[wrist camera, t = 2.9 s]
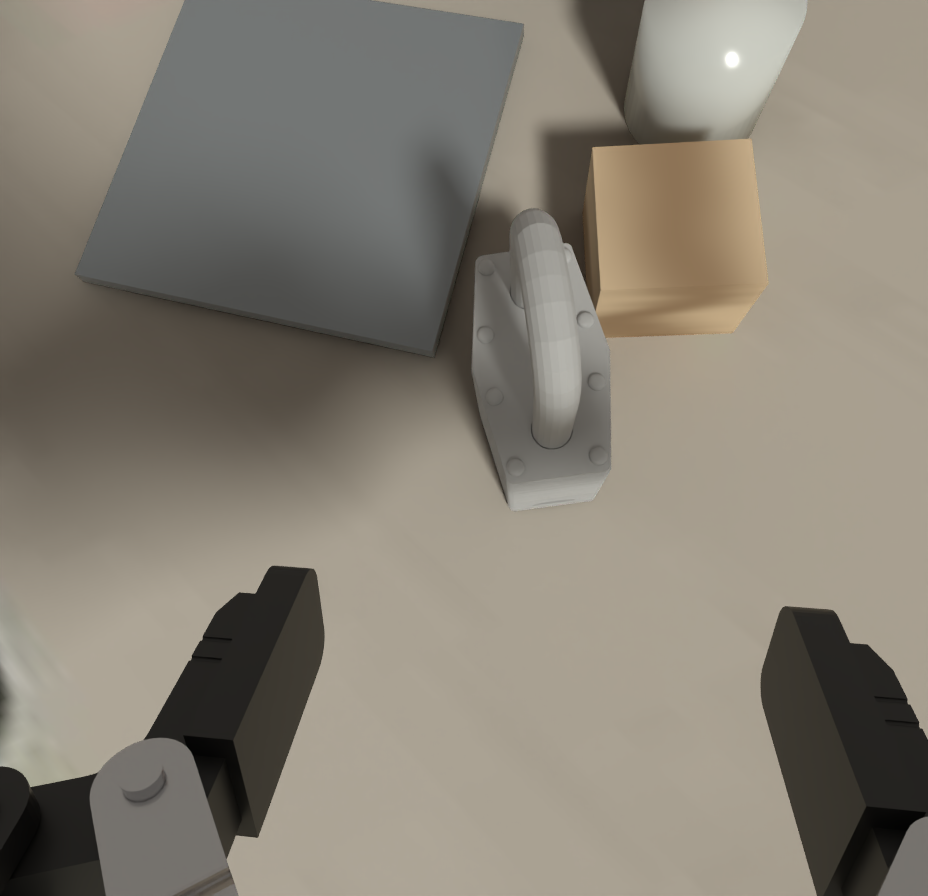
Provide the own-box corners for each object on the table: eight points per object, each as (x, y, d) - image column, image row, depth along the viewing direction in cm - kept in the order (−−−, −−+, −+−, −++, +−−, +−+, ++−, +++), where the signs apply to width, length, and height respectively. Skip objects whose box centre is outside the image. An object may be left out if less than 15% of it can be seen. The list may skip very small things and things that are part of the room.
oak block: (588, 340, 26) (600, 290, 22) (581, 214, 27) (592, 147, 24) (731, 334, 26) (768, 283, 22) (718, 208, 27) (751, 138, 23)
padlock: (467, 323, 27) (437, 149, 17) (577, 307, 26) (610, 122, 17) (493, 515, 25) (476, 444, 15) (611, 499, 25) (670, 417, 15)
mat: (83, 281, 28) (74, 274, 28) (201, -15, 31) (195, -27, 31) (434, 357, 26) (432, 351, 26) (523, 35, 29) (523, 23, 29)
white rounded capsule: (612, 153, 28) (631, 53, 23) (637, 43, 29) (661, -74, 24) (745, 176, 27) (794, 78, 22) (766, 63, 28) (818, -53, 23)
